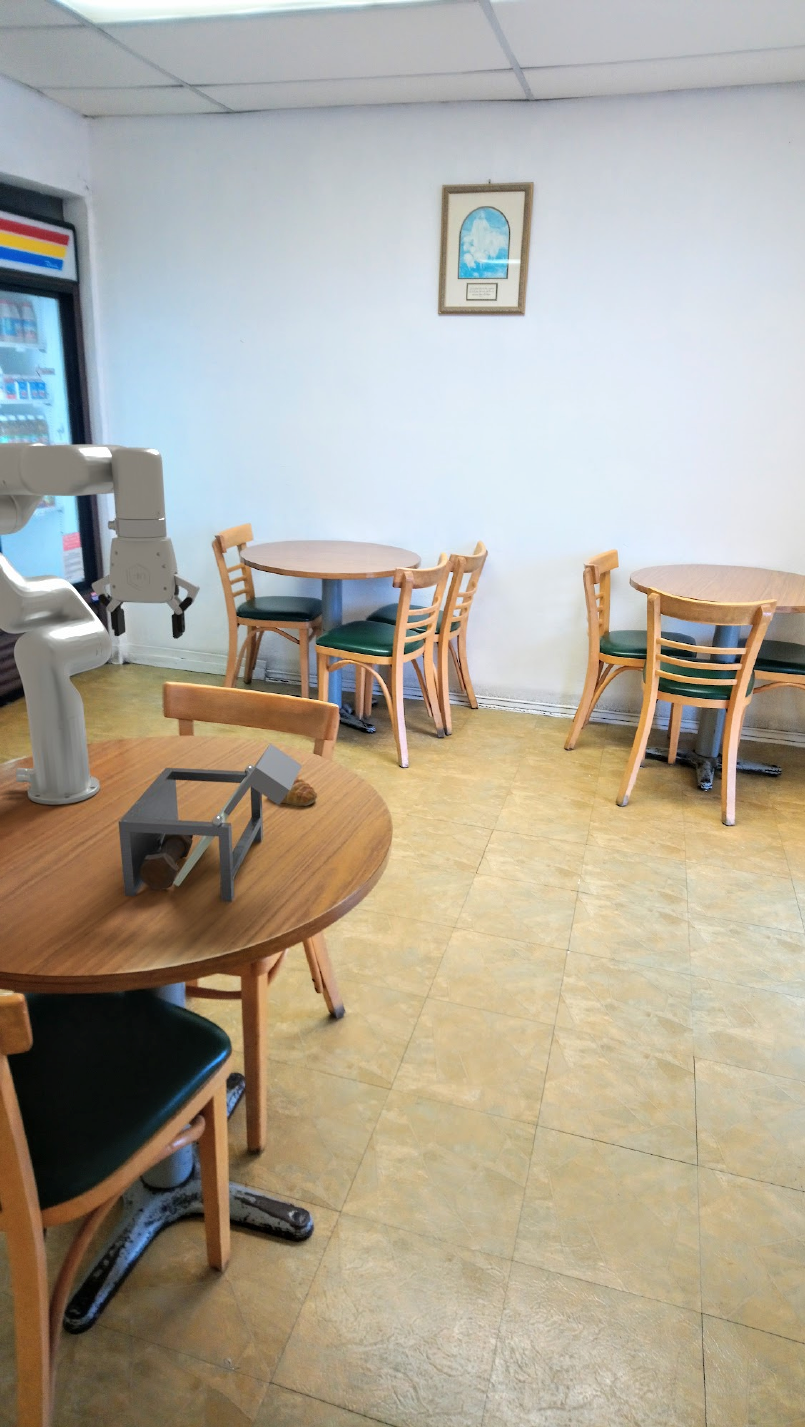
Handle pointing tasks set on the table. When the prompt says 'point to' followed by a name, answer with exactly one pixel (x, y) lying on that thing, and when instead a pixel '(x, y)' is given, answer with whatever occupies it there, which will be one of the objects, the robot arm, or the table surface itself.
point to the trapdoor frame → (183, 826)
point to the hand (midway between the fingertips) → (149, 635)
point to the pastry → (300, 794)
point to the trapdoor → (267, 778)
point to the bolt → (165, 861)
